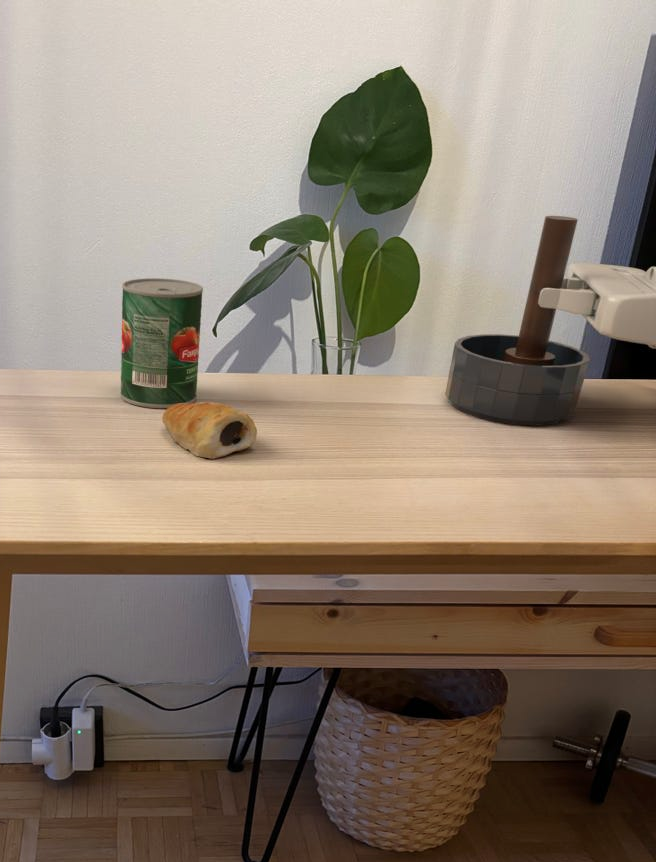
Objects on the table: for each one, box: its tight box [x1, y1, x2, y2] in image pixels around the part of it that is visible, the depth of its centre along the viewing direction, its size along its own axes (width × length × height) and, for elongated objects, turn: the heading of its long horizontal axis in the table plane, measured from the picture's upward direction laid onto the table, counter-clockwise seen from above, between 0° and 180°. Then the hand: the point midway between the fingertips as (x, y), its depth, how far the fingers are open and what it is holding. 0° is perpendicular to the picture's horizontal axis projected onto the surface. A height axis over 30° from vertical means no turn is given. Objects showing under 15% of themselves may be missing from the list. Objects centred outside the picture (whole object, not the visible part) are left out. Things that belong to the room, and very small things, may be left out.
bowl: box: [444, 333, 590, 426], centre depth 100 cm, size 13×13×6 cm
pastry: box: [161, 401, 258, 460], centre depth 86 cm, size 9×7×4 cm
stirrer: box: [503, 215, 578, 366], centre depth 97 cm, size 5×5×16 cm
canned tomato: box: [119, 277, 204, 409], centre depth 96 cm, size 8×8×11 cm
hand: (535, 292), depth 96 cm, fingers closed on stirrer, 3 cm apart
